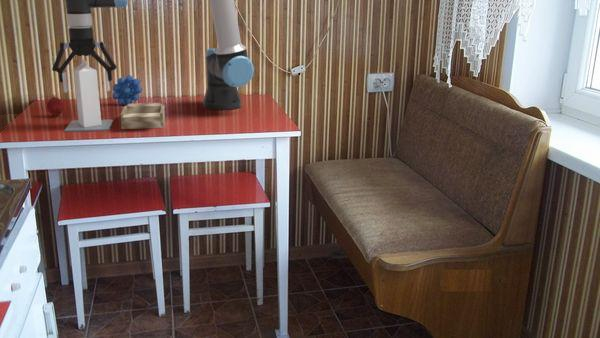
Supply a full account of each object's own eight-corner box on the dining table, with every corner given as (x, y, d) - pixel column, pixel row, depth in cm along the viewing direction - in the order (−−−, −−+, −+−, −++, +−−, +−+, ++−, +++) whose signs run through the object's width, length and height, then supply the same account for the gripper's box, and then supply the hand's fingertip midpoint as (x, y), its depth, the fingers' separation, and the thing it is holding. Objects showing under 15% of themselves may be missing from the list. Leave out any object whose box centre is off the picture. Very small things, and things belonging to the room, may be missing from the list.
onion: (68, 116, 222) (65, 95, 220) (52, 119, 218) (50, 97, 216) (60, 114, 226) (58, 92, 223) (45, 116, 222) (42, 94, 219)
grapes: (144, 103, 247) (142, 73, 243) (142, 106, 241) (140, 76, 237) (115, 103, 245) (112, 73, 242) (112, 106, 239) (109, 76, 235)
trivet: (113, 121, 216) (113, 119, 216) (108, 130, 203) (108, 129, 203) (72, 122, 214) (71, 120, 214) (64, 132, 201) (64, 130, 201)
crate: (165, 116, 225) (164, 102, 223) (163, 130, 204) (162, 116, 203) (126, 117, 223) (125, 103, 221) (120, 131, 202) (119, 117, 200)
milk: (84, 127, 204) (77, 62, 197) (78, 124, 209) (71, 59, 202) (102, 125, 208) (95, 60, 201) (96, 121, 212) (90, 58, 206)
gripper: (121, 25, 204) (126, 88, 211) (42, 26, 200) (50, 90, 206) (118, 27, 197) (124, 92, 203) (37, 28, 193) (46, 94, 199)
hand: (87, 91), depth 205 cm, fingers open, 13 cm apart
